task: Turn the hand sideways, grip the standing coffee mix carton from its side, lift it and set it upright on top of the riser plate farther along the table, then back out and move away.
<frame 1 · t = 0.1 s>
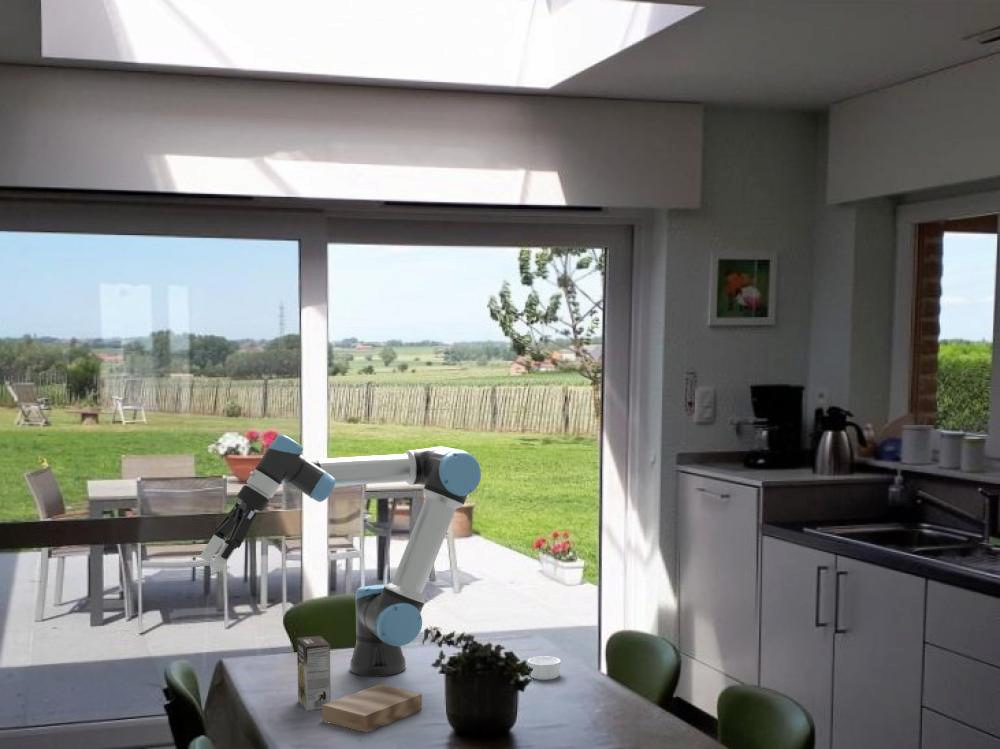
hand: (209, 564, 295), 36 cm above the table, tool tilted 35°, fingers open, 13 cm apart
riser: (372, 715, 289), on the table
coffee box: (314, 705, 298), on the table
ramekin: (544, 676, 320), on the table
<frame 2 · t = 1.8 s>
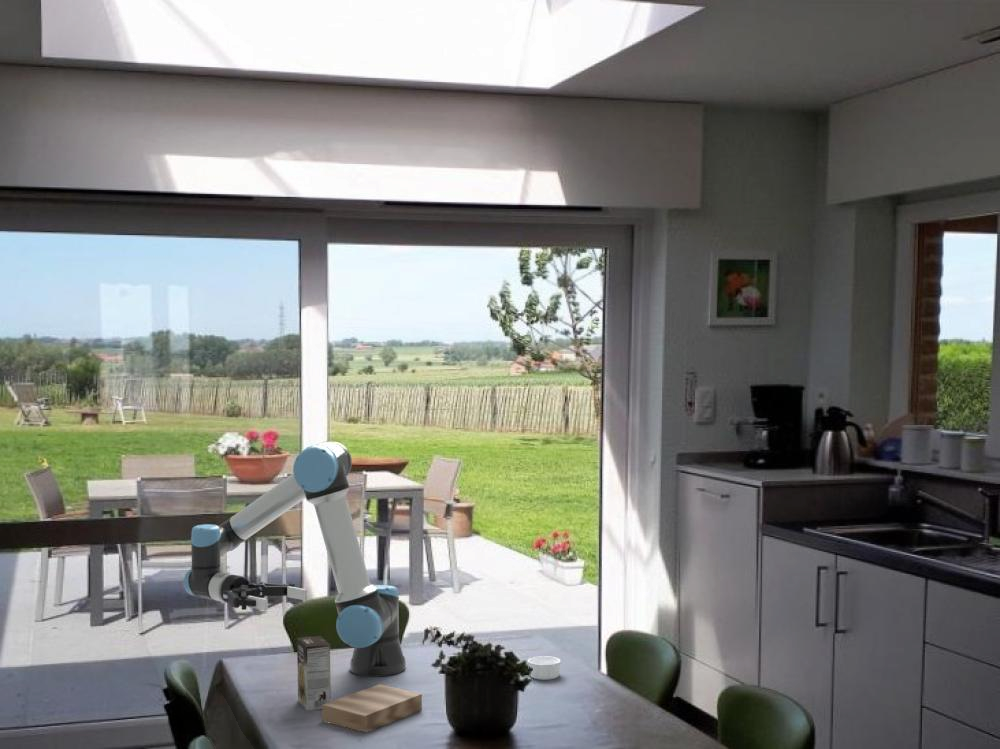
hand: (286, 599, 303), 25 cm above the table, tool horizontal, fingers open, 13 cm apart
nothing on the table moved.
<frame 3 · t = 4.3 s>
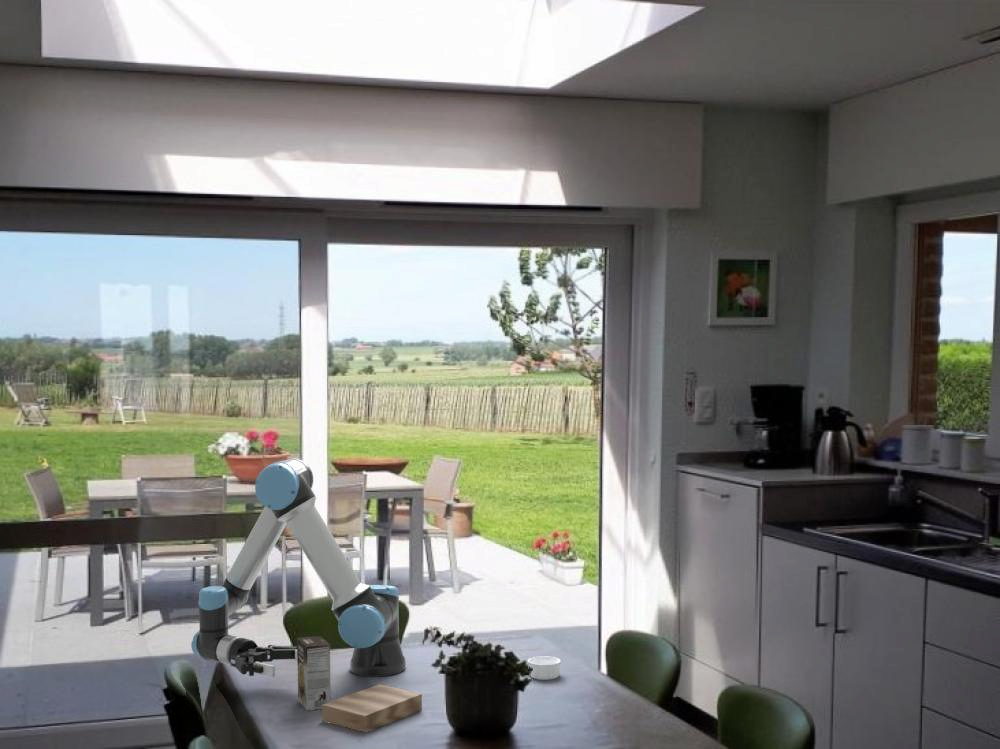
hand: (294, 665, 301), 9 cm above the table, tool horizontal, fingers open, 13 cm apart
nothing on the table moved.
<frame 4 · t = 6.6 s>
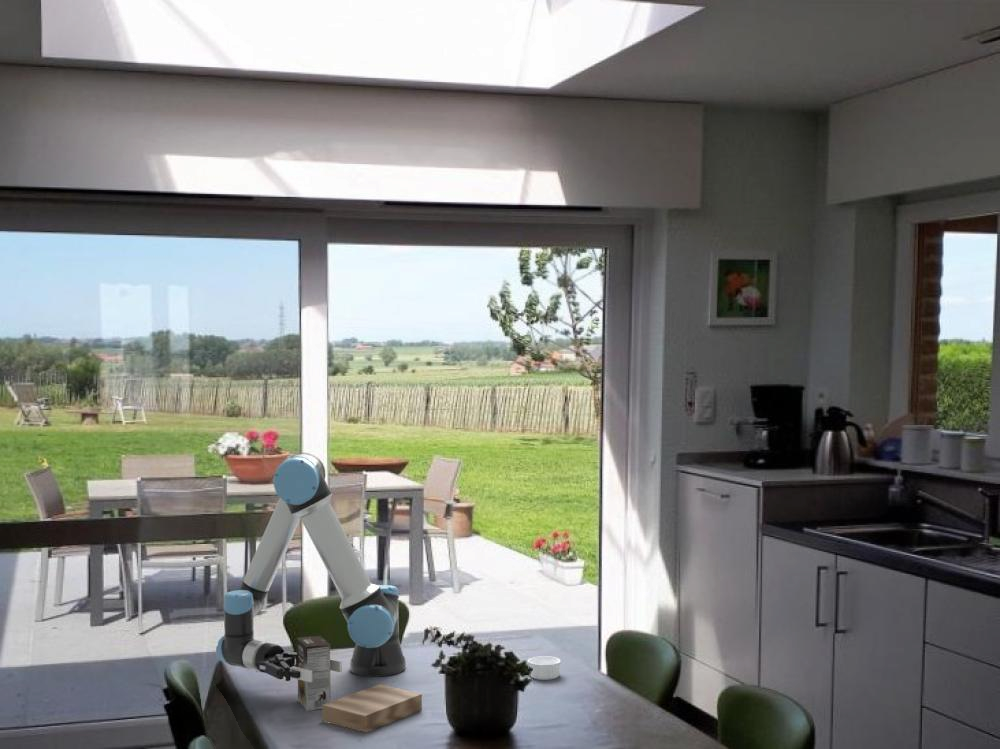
hand: (326, 671, 295), 9 cm above the table, tool horizontal, fingers closed on coffee box, 9 cm apart
coffee box: (314, 705, 298), on the table, touching gripper
everything else where it was.
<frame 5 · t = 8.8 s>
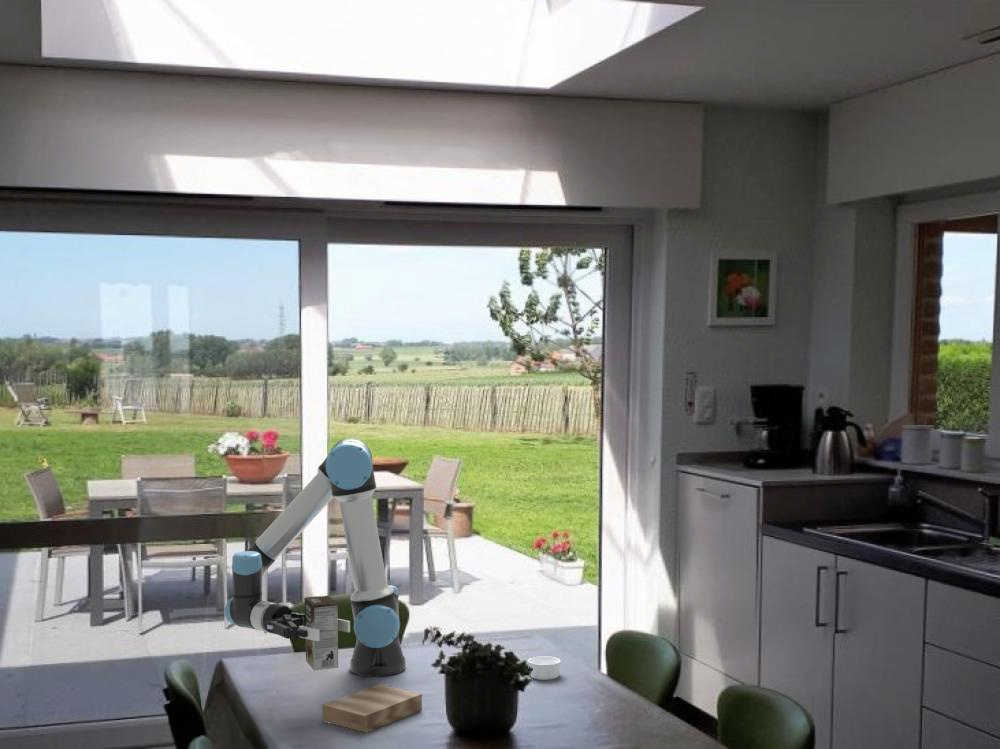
hand: (333, 630, 291), 20 cm above the table, tool horizontal, fingers closed on coffee box, 9 cm apart
coffee box: (321, 665, 294), point 11 cm above the table, touching gripper
everything else where it was.
when the fingers open (14 cm above the table, at t = 11.3 s): coffee box drops 1 cm, resting on riser.
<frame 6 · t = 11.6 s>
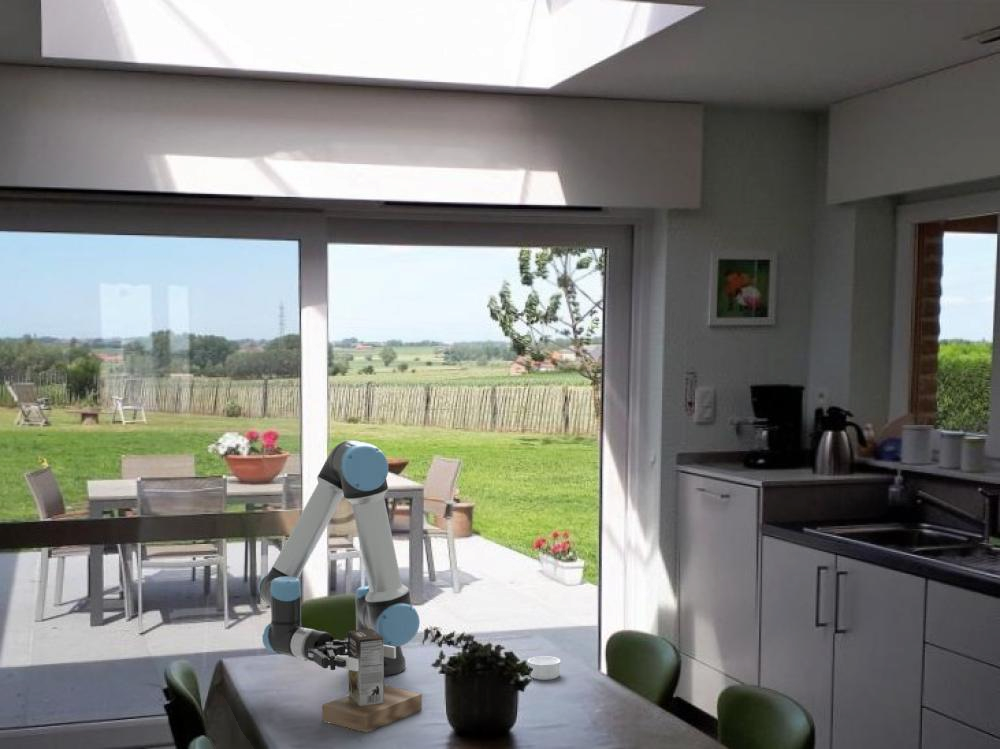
hand: (376, 658, 286), 14 cm above the table, tool horizontal, fingers open, 12 cm apart
coffee box: (366, 700, 288), point 4 cm above the table, touching riser
everything else where it was.
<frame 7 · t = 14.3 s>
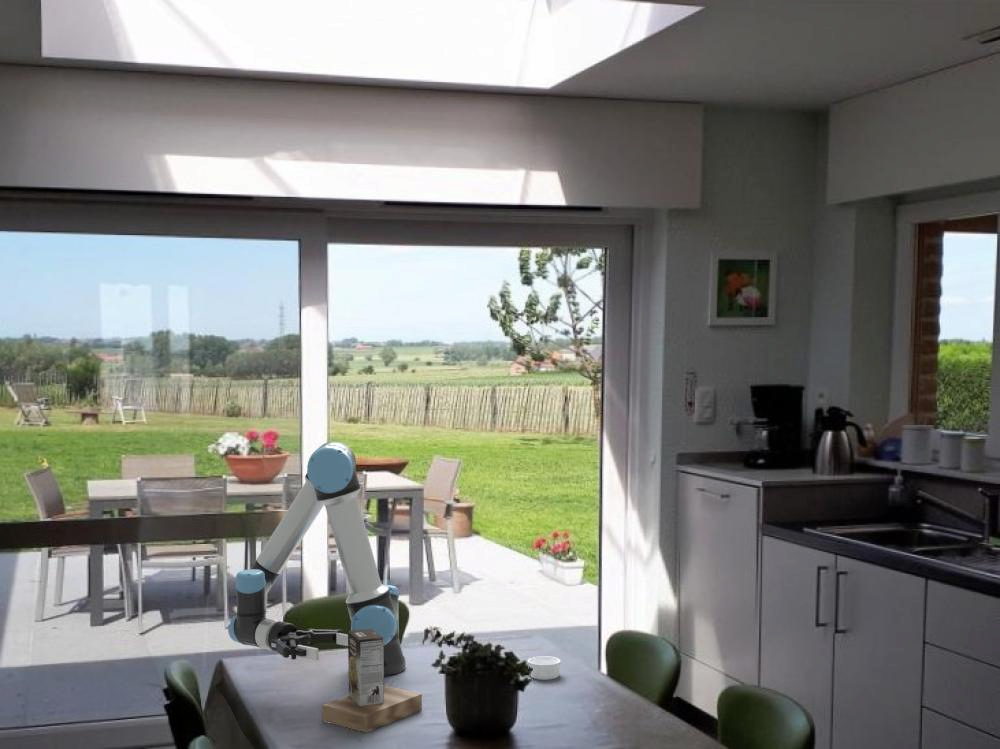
hand: (337, 648, 294), 15 cm above the table, tool horizontal, fingers open, 13 cm apart
nothing on the table moved.
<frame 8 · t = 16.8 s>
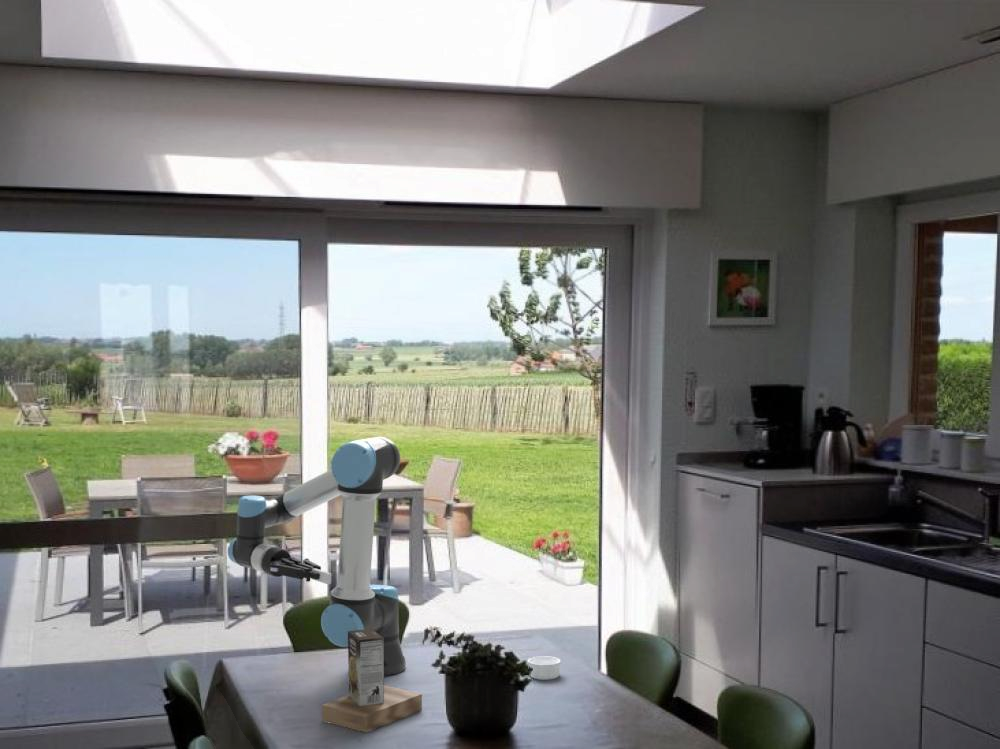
hand: (329, 578, 306), 29 cm above the table, tool horizontal, fingers closed
nothing on the table moved.
at the end: coffee box inside the target area on the riser (1.6 cm from its centre), point 3.8 cm above the riser's base; coffee box tilted 0°; the gripper is holding nothing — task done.
